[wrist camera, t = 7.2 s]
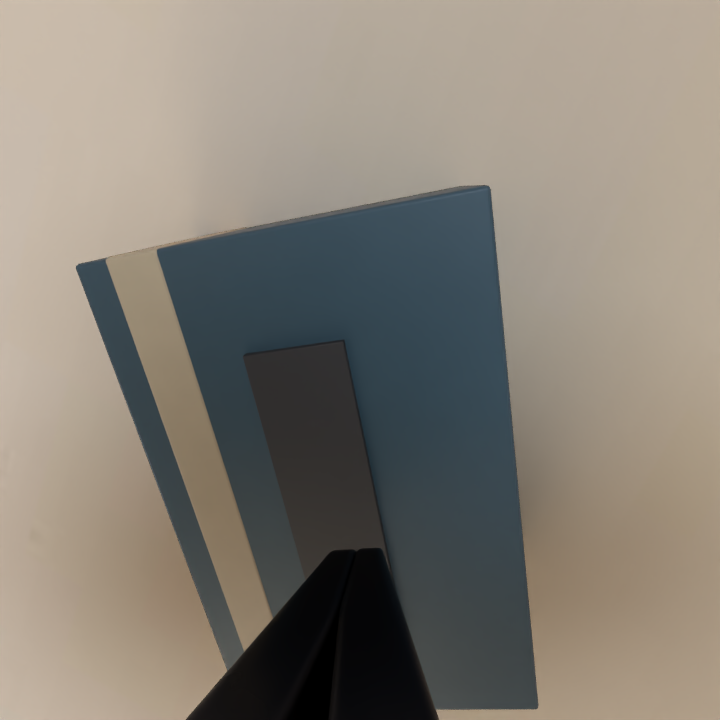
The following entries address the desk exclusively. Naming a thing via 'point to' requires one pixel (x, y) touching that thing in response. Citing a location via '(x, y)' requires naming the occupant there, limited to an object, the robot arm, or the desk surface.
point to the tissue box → (336, 421)
